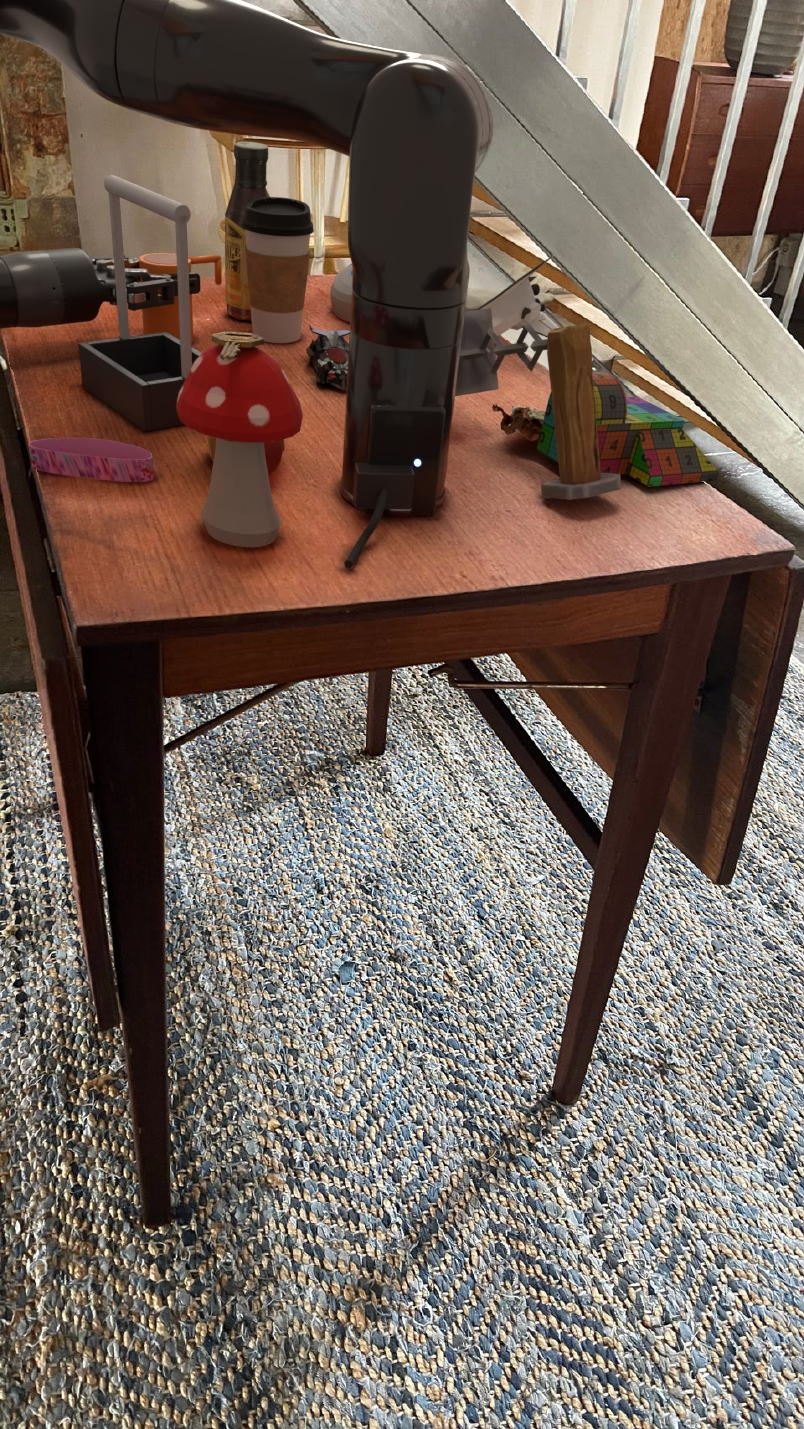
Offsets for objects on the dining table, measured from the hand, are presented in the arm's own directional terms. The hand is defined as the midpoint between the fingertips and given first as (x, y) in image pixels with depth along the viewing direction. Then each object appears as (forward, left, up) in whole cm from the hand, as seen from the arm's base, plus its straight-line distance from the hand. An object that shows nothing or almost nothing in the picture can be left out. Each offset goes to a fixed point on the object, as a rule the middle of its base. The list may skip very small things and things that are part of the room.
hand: (184, 275), depth 119 cm
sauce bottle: (+10, -8, -7) cm, 14 cm away
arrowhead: (+15, -27, -6) cm, 31 cm away
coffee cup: (+2, -11, -7) cm, 13 cm away
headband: (-40, +8, -3) cm, 41 cm away
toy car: (-12, -17, -7) cm, 22 cm away
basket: (-22, +3, -7) cm, 23 cm away
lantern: (-33, -29, -7) cm, 45 cm away
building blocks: (-38, -43, -7) cm, 58 cm away
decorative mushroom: (-52, -5, -7) cm, 53 cm away
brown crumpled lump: (-29, -35, -2) cm, 45 cm away
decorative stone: (+14, -28, -5) cm, 32 cm away
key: (-55, -5, +8) cm, 56 cm away
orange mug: (0, 0, -7) cm, 7 cm away
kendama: (-35, -6, -7) cm, 36 cm away
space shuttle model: (0, -35, -2) cm, 35 cm away
